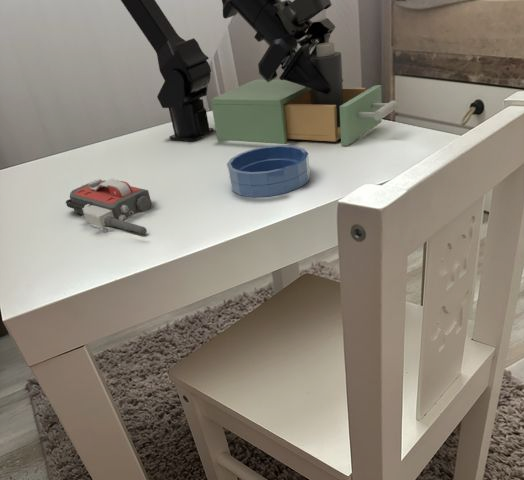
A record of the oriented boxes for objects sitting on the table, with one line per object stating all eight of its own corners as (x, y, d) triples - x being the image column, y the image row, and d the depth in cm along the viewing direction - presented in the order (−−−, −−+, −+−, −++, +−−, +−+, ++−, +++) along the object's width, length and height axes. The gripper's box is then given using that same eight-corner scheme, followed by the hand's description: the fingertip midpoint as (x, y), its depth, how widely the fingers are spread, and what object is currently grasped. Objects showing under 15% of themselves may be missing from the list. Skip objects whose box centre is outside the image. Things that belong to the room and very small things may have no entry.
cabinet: (325, 124, 97) (322, 78, 92) (285, 148, 88) (280, 100, 84) (260, 121, 104) (254, 79, 100) (218, 143, 96) (210, 99, 91)
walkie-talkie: (56, 217, 77) (141, 245, 66) (45, 188, 74) (131, 211, 63) (105, 195, 82) (191, 217, 70) (95, 167, 79) (184, 185, 68)
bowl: (216, 197, 75) (211, 169, 73) (261, 169, 82) (257, 143, 79) (282, 206, 69) (278, 176, 67) (324, 175, 76) (322, 147, 74)
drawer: (405, 123, 88) (406, 85, 84) (372, 147, 80) (372, 106, 77) (313, 119, 97) (310, 85, 93) (276, 141, 89) (272, 104, 86)
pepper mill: (317, 131, 87) (311, 48, 80) (313, 123, 91) (307, 44, 84) (346, 126, 87) (343, 43, 80) (341, 119, 91) (337, 39, 83)
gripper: (266, -29, 71) (347, 58, 73) (319, -42, 83) (388, 33, 85) (226, 42, 79) (300, 119, 81) (281, 21, 91) (343, 87, 93)
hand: (335, 87), depth 85 cm, fingers closed on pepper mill, 5 cm apart
